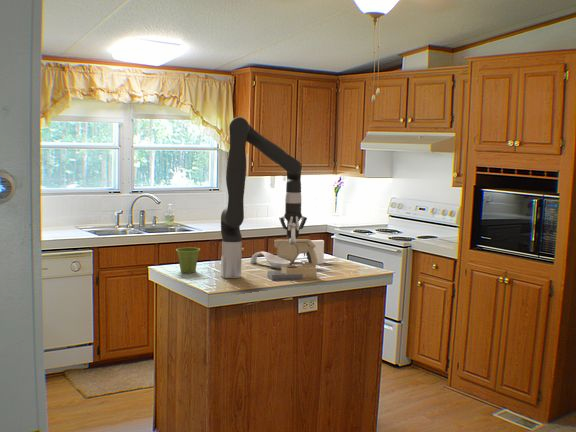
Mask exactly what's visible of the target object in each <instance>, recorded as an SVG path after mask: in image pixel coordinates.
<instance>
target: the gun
mask: <svg viewBox="0 0 576 432" xmlns="http://www.w3.org/2000/svg"><path fill="white" fill-rule="evenodd" d="M273 242H274V248H276V250H277V252H276V256H278V257H280V258H283V259H286V260H289V261H290V262H291V263H290V264H289V266H290V265H312V266H314V267H315V268H317V261H318V260H317V257H316V254H315V251H314V247H315V246H316V245H315V244H314V243H313V242H312V241H311V239H296V245H290V244H289V239H274V240H273ZM309 244H310V245H311V246H310V245H309ZM300 254H303V257H306V260H307V259H308V262H307V261H296V260H297V259H298V256H300Z"/></svg>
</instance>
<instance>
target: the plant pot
mask: <svg viewBox="0 0 576 432" xmlns="http://www.w3.org/2000/svg"><path fill="white" fill-rule="evenodd" d="M175 251H176V254H177V257H178V263H179V269H180V272H181V273H186V274H191V273H192V274H193V273H195V272H196V271H197V264H198V263H197V262H198V257H199V254H200V253H199V252H200V251H201V248H199V247H179V248H176V249H175Z"/></svg>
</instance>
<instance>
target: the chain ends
mask: <svg viewBox="0 0 576 432" xmlns="http://www.w3.org/2000/svg"><path fill="white" fill-rule="evenodd" d="M317 269H318V268H317V267H314V266H312V265H294V264H292V265H289V266H281V269H280V270H270V271H267V272H266V273H267V275H266V277H267V278H268V279H269V280H271V281H289V280H290V281H291V280H292V281H293V280H315V279H317V272H318V270H317Z"/></svg>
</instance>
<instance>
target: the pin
mask: <svg viewBox="0 0 576 432" xmlns="http://www.w3.org/2000/svg"><path fill="white" fill-rule="evenodd" d="M290 231H291V236H290V238H288V240H289V244H290V245H296V240H297V238H296V223H292V225H291V228H290Z"/></svg>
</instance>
